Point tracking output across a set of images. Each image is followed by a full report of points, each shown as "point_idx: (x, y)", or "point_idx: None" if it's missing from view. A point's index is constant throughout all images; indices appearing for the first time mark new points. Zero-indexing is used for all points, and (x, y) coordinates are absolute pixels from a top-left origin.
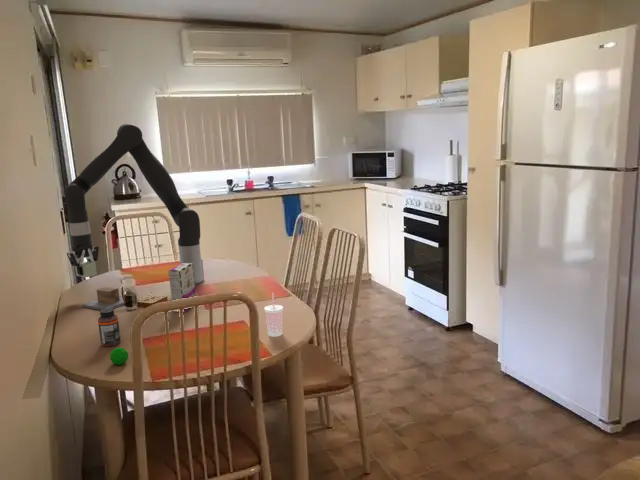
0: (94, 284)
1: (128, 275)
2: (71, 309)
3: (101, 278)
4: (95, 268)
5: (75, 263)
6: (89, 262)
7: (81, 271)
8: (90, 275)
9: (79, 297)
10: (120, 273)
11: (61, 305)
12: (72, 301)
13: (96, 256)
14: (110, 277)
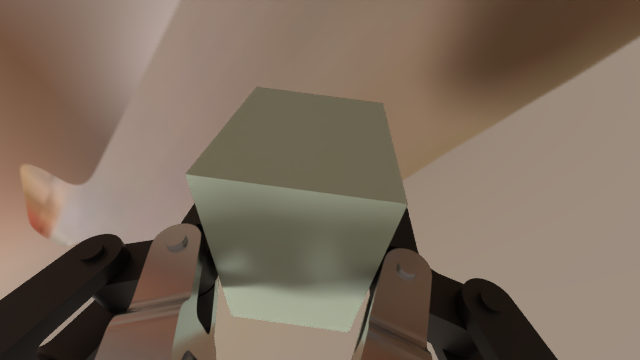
0: (185, 213)
1: (32, 178)
2: (556, 20)
3: (135, 233)
4: (239, 121)
5: (523, 339)
6: (229, 260)
7: None
8: (342, 101)
9: None
10: (57, 217)
11: (461, 141)
12: (394, 138)
13: (41, 300)
14: (104, 217)
